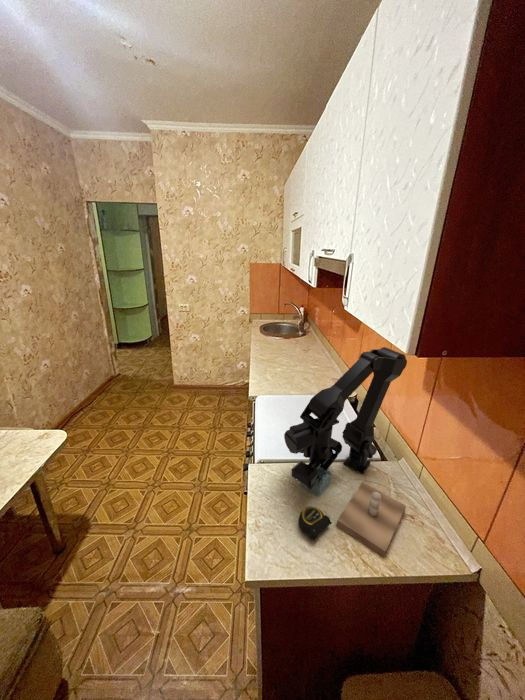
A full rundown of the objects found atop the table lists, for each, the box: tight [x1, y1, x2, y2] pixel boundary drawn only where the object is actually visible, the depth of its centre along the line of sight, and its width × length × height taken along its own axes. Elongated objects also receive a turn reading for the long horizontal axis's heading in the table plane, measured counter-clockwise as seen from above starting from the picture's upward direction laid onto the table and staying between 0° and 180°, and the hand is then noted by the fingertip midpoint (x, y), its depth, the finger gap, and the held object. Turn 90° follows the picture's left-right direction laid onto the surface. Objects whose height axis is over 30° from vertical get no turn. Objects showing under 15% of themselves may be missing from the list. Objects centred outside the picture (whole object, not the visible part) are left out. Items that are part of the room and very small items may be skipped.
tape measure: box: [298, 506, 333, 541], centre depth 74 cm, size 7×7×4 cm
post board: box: [335, 481, 407, 558], centre depth 76 cm, size 16×12×9 cm
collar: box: [299, 466, 332, 497], centre depth 87 cm, size 6×6×4 cm
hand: (315, 481), depth 87 cm, fingers closed on collar, 6 cm apart
